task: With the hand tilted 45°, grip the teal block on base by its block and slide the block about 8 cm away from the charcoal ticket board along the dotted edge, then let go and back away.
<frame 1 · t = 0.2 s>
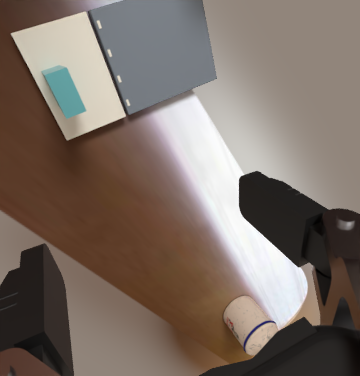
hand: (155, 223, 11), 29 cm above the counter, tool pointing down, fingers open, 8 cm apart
ticket board: (158, 49, 36), on the counter
teacup with lid: (239, 310, 69), on the counter
teal block on base: (80, 82, 29), point 5 cm above the counter, slide at 0.0 cm
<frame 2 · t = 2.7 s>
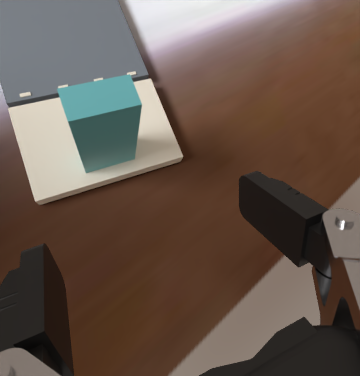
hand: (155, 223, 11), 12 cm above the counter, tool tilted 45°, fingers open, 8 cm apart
ticket board: (62, 33, 26), on the counter
teal block on base: (95, 110, 20), point 5 cm above the counter, slide at 0.0 cm
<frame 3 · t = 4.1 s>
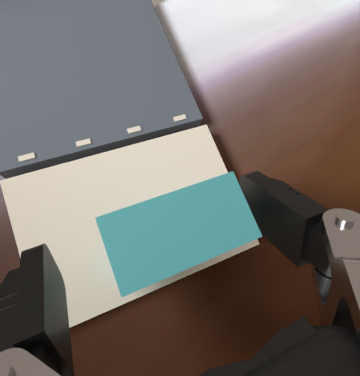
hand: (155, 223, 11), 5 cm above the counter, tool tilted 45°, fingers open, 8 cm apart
ticket board: (78, 58, 19), on the counter
teal block on base: (142, 199, 12), point 5 cm above the counter, slide at 0.0 cm
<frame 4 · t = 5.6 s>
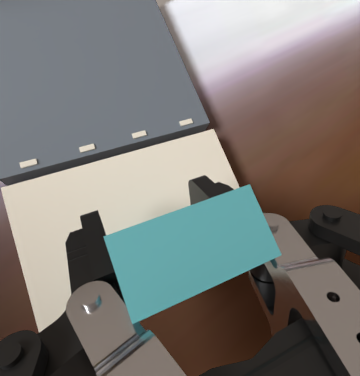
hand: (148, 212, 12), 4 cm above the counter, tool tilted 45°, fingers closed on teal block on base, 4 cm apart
ticket board: (81, 60, 18), on the counter
teal block on base: (150, 209, 11), point 5 cm above the counter, slide at 0.0 cm, touching gripper
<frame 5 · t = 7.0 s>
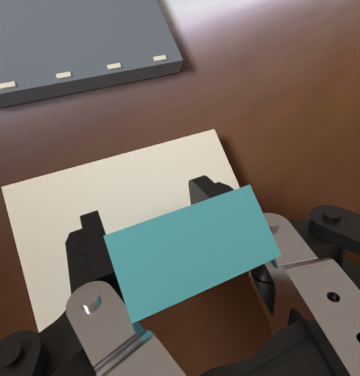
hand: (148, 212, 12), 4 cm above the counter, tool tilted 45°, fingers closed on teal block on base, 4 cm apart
ticket board: (62, 2, 19), on the counter
teal block on base: (150, 209, 11), point 5 cm above the counter, slide at 4.8 cm, touching gripper
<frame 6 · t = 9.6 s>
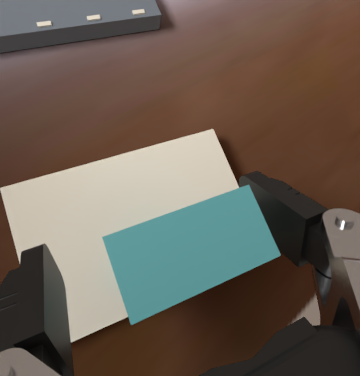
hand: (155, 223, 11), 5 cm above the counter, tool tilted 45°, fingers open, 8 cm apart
teal block on base: (149, 209, 11), point 5 cm above the counter, slide at 8.5 cm
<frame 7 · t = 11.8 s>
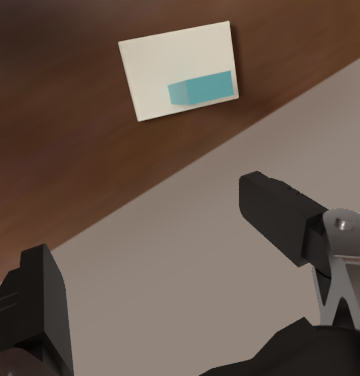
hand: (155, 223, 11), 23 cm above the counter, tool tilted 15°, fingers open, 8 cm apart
teal block on base: (191, 68, 27), point 5 cm above the counter, slide at 8.5 cm
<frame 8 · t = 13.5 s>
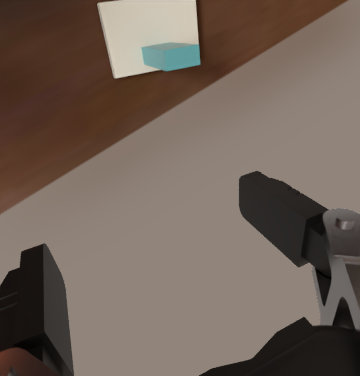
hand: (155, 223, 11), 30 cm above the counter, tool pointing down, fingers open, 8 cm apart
teal block on base: (164, 35, 32), point 5 cm above the counter, slide at 8.5 cm
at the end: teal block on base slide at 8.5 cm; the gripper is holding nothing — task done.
